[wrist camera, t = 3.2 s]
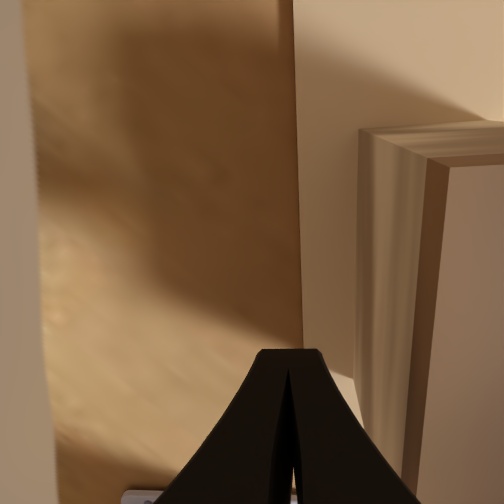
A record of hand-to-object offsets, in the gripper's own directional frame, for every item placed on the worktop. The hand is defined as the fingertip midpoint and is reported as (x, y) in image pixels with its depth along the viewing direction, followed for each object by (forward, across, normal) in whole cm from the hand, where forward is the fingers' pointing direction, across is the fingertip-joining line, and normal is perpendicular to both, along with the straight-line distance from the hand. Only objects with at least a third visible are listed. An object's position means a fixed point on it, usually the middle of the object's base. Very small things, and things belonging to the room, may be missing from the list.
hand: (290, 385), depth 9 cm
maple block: (+6, -4, 0) cm, 8 cm away
